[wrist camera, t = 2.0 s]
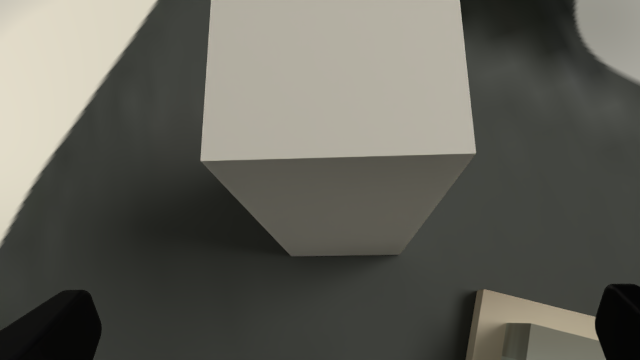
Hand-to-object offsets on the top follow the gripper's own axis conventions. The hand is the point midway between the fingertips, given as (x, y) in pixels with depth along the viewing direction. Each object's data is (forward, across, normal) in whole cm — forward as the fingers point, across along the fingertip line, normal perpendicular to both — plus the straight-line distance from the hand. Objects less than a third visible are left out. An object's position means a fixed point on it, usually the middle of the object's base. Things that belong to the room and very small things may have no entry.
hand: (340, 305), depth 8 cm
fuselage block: (+11, 0, +5) cm, 12 cm away
